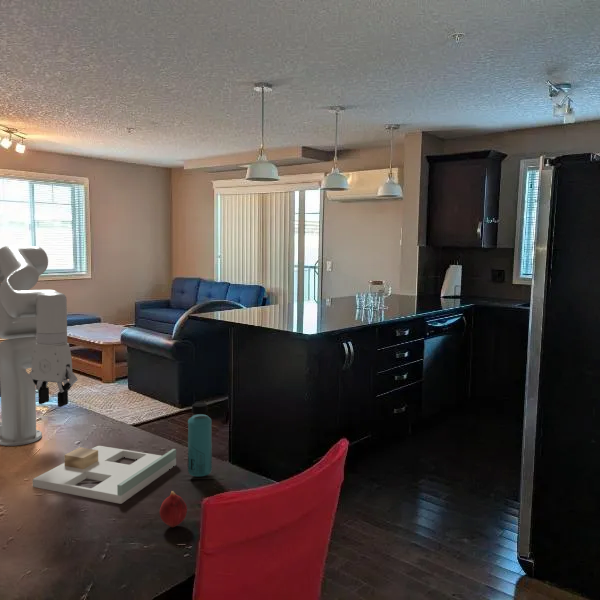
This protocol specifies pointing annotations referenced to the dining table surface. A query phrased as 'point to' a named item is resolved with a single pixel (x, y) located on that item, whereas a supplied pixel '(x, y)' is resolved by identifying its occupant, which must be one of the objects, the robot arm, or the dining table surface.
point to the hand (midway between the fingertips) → (53, 403)
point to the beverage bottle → (199, 441)
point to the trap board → (109, 474)
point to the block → (81, 458)
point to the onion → (173, 510)
